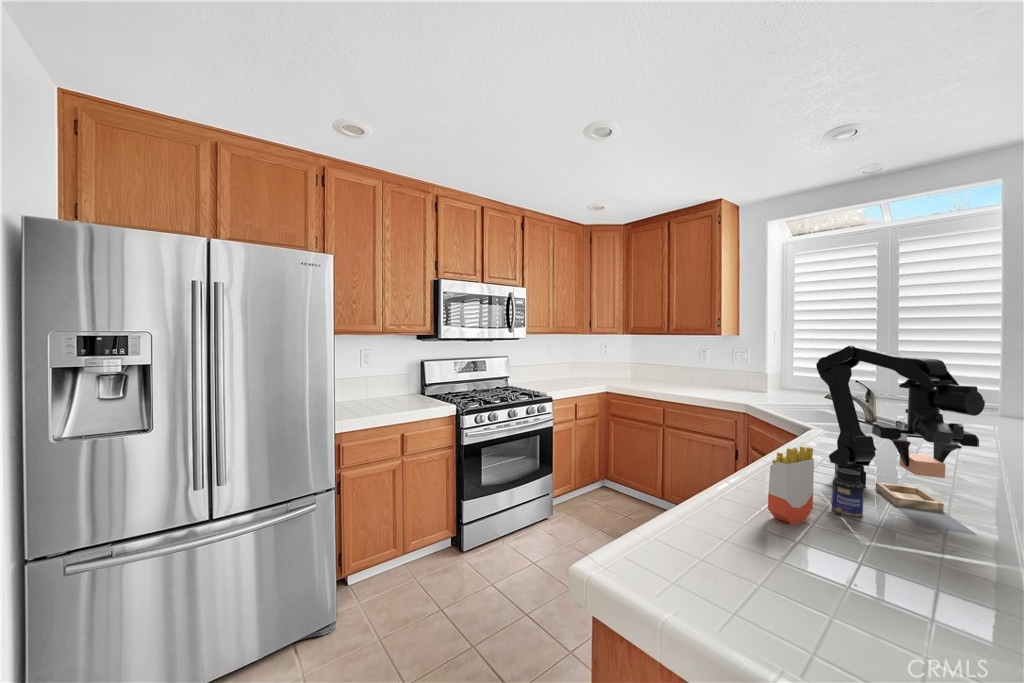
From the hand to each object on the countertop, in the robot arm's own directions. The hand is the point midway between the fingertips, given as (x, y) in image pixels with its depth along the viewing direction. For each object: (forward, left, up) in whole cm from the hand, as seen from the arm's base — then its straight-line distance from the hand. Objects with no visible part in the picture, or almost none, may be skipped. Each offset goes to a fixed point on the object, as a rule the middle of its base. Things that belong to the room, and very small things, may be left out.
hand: (921, 467), depth 104 cm
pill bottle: (-18, -10, -12) cm, 24 cm away
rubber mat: (0, +1, -11) cm, 11 cm away
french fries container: (-32, -19, -12) cm, 39 cm away
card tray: (0, +7, -11) cm, 13 cm away
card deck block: (0, 0, -1) cm, 1 cm away
